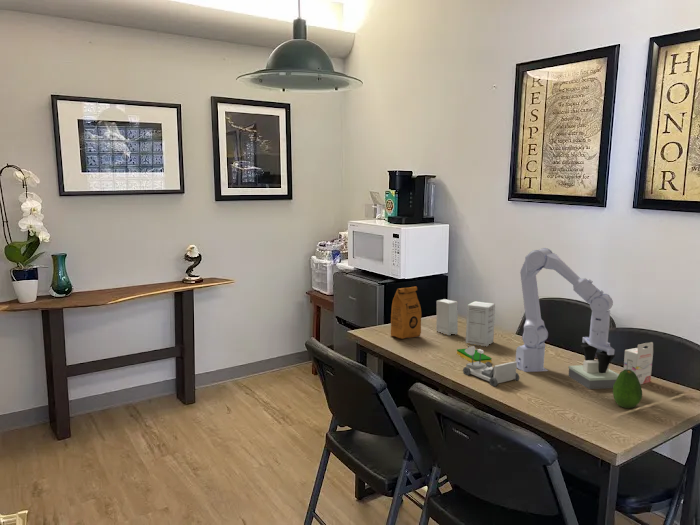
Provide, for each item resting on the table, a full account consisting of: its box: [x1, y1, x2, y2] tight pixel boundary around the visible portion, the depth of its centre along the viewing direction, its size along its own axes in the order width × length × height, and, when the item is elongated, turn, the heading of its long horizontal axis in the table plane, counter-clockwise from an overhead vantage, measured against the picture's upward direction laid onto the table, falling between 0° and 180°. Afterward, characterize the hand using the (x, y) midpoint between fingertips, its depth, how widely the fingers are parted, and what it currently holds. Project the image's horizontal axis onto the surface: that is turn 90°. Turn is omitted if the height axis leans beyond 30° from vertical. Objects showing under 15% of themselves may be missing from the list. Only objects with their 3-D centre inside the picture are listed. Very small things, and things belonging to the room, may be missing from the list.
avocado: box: [612, 369, 643, 409], centre depth 163 cm, size 8×8×12 cm
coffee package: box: [390, 286, 423, 339], centre depth 234 cm, size 10×12×22 cm
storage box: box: [568, 368, 616, 390], centre depth 184 cm, size 12×12×4 cm
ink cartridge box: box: [622, 341, 654, 385], centre depth 184 cm, size 9×5×15 cm, turn 118°
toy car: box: [462, 344, 520, 388], centre depth 188 cm, size 18×10×12 cm
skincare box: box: [435, 298, 459, 336], centre depth 242 cm, size 8×6×15 cm
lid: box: [567, 359, 620, 381], centre depth 183 cm, size 12×12×5 cm
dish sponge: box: [456, 347, 493, 364], centre depth 208 cm, size 7×14×2 cm, turn 19°
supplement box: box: [465, 300, 496, 348], centre depth 228 cm, size 10×9×17 cm
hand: (595, 369), depth 183 cm, fingers open, 6 cm apart
